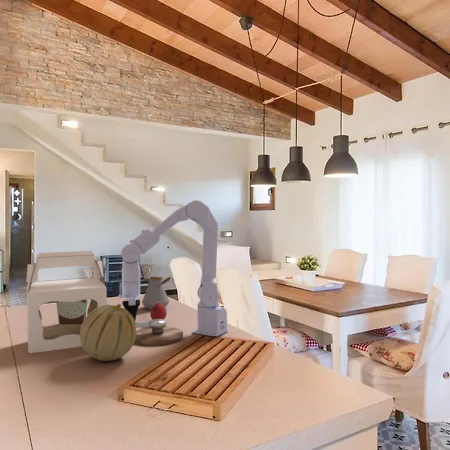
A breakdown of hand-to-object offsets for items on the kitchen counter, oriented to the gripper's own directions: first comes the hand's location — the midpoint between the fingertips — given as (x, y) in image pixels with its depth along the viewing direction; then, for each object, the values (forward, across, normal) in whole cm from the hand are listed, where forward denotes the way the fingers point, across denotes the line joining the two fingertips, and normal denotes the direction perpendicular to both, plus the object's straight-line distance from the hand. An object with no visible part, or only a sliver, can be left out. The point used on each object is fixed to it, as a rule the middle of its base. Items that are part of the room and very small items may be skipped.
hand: (131, 323), depth 133 cm
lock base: (+4, +4, +8) cm, 10 cm away
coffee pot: (+4, -36, +13) cm, 38 cm away
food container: (+4, -23, -19) cm, 31 cm away
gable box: (+4, +1, -20) cm, 20 cm away
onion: (+4, -14, +10) cm, 18 cm away
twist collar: (0, +4, +4) cm, 6 cm away
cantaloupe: (+4, +21, -7) cm, 22 cm away
